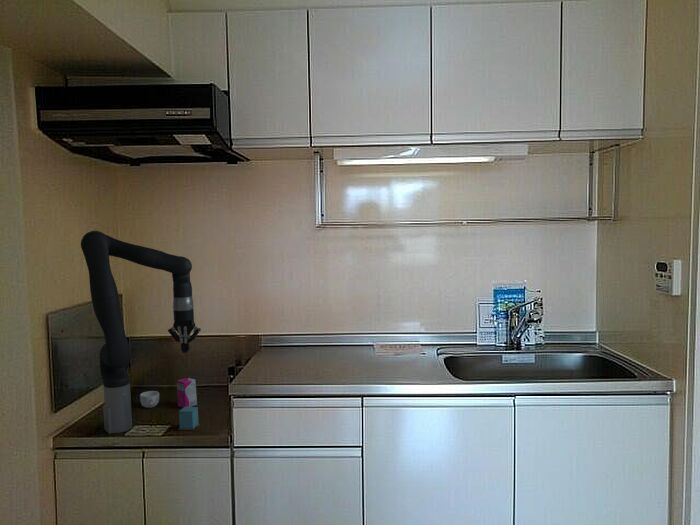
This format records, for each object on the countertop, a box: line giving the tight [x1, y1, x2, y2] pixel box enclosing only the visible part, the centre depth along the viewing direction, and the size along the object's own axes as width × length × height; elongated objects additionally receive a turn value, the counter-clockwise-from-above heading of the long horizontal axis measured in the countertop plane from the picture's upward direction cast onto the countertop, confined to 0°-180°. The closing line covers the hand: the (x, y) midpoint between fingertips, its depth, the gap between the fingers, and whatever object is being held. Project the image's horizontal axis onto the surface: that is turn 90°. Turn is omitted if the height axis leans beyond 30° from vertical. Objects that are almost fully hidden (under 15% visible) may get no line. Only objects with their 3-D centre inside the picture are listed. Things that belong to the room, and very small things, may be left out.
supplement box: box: [176, 377, 198, 409], centre depth 243 cm, size 6×6×12 cm
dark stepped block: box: [178, 423, 201, 431], centre depth 219 cm, size 6×6×6 cm
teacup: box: [139, 390, 160, 409], centre depth 244 cm, size 10×8×5 cm
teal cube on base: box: [178, 406, 199, 429], centre depth 219 cm, size 5×5×7 cm
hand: (185, 352), depth 225 cm, fingers closed
